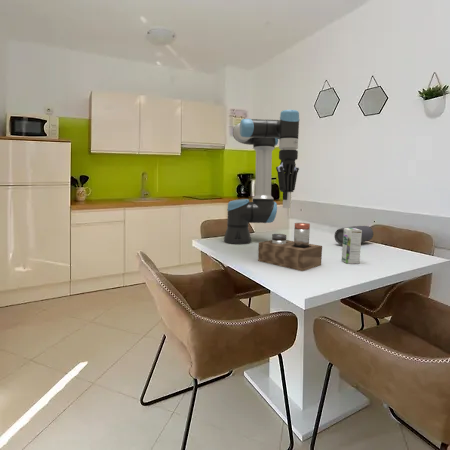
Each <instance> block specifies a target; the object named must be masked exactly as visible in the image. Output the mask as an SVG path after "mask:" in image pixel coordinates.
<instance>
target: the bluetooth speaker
mask: <svg viewBox="0 0 450 450" xmlns="http://www.w3.org/2000/svg"><path fill="white" fill-rule="evenodd" d="M344 228H356V229H359V230H362V236H361V243H363V242H368V241H370V240H372V239H373V237H374V230H373V229H372V228H371V226H369V225H356V226H355V225H353V226H347V227H342V228H337V229H336V231H335V232H334V236H333V237H334V240H335V242H336V243H337V244H339V245H343V235H344Z"/></svg>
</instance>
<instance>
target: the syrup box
mask: <svg viewBox="0 0 450 450" xmlns="http://www.w3.org/2000/svg"><path fill="white" fill-rule="evenodd" d="M343 228H344V235H343V244H342V249H341V251H342V252H341V262H343V263H345V264H348V265H349V264H360V260H361V259H360V258H361V249H362V248H361V247H362V245H361V244H362V242H361V236H362V230H359V229H356V228H346V227H343Z"/></svg>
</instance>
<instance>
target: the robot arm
mask: <svg viewBox="0 0 450 450" xmlns="http://www.w3.org/2000/svg"><path fill="white" fill-rule="evenodd" d="M279 115H280V116H279V119H258V118H242V119H241V120H240V123H237V124H236V125H235V126H234V127H233V128H232V137H233V139H235V141H236V142H238V143H240V144H244V145H247V146H248V145H252V147H253V148H252V149H253V150H254V151H255V184H254V185H255V186H254V187H255V188H254V189H255V194H254V196H253V197H252V201H250V199H249V198H241V199H240V198H239V199H234V200H230V201H228V203H227V210H226V211H227V216H226V217H227V219H226V221H227V223H226V225H227V227H226V231H225V233H224V236H223V242H224V243H226V244H231V245H232V244H233V245H245V244H251V243H252V236H251V233H250V230H249V229H250V228H249V224H268V223H269V224H271V223H273V222H274V221H275V219H276V216H277V211H278V203H277V202H276V201H274V197H273V196H272V165H273V163H272V159H273V151H274V149H276V148H275V146H278V149H279V151H278V159H279V160H280V163H279V166H276V167H275V170H276V173H277V180H278V189H279V191H280V192H282V209H291V199H292V193H294V191H295V189H296V188H295V187H296V184H297V183H296V182H297V177H298V173H299V170H300V168H299V167H297V166H296V160H298V156H299V151H298V149H299V134H300V133H299V132H300V129H299V128H300V126H299V125H300V112H299V110H297V109H284V110H282V111H281V112H280V114H279Z"/></svg>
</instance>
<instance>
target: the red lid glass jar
mask: <svg viewBox="0 0 450 450" xmlns="http://www.w3.org/2000/svg"><path fill="white" fill-rule="evenodd" d="M293 231H294V233H293V241H294V247H298V248H308V247H309V244H310V231H311V224H310V223H308V222H295V223H294V230H293Z"/></svg>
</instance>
